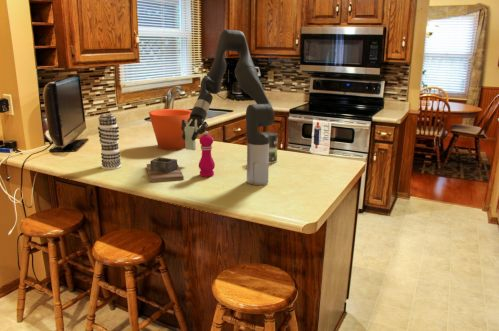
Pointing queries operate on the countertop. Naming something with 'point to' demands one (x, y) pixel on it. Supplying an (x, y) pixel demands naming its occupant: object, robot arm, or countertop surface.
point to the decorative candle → (109, 141)
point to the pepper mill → (206, 156)
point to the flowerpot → (169, 127)
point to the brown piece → (164, 170)
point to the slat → (189, 138)
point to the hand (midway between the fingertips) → (188, 139)
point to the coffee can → (272, 146)
